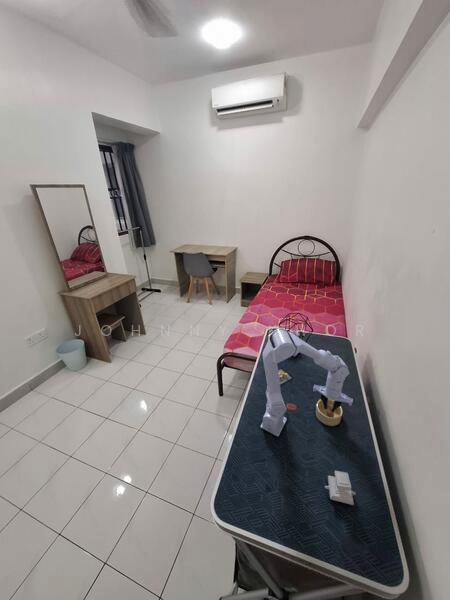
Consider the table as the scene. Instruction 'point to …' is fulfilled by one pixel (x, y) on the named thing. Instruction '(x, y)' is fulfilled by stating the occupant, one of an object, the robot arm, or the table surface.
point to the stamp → (340, 488)
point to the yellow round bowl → (326, 419)
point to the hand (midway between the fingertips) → (329, 409)
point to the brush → (328, 411)
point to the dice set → (283, 376)
